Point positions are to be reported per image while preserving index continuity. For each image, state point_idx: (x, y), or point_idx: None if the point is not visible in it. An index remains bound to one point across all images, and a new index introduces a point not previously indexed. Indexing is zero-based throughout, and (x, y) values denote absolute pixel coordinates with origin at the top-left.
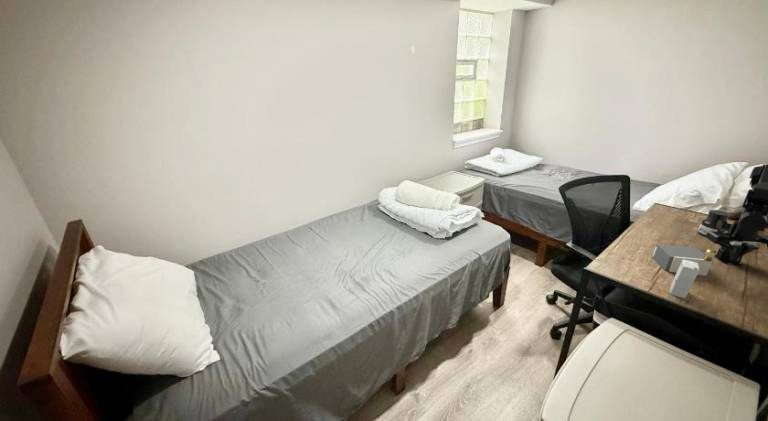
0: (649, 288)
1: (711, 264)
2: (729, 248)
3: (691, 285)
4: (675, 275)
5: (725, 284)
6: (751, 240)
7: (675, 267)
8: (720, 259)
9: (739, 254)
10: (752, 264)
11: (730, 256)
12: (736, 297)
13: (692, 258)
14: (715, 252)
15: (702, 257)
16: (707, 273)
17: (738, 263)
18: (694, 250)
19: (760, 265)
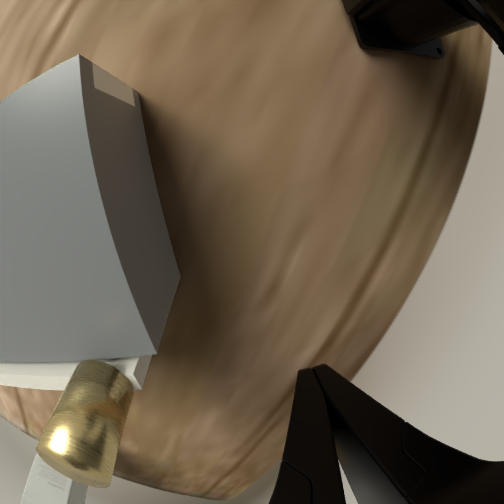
0: (24, 423)
1: (163, 325)
2: (271, 500)
3: (85, 493)
4: (37, 454)
5: (247, 348)
6: None
7: None
8: (351, 16)
9: (347, 479)
10: (470, 48)
11: (295, 401)
12: (246, 423)
13: (25, 380)
14: (105, 487)
15: (77, 317)
16: (178, 281)
17: (428, 51)
18: (34, 157)
19: (488, 57)
